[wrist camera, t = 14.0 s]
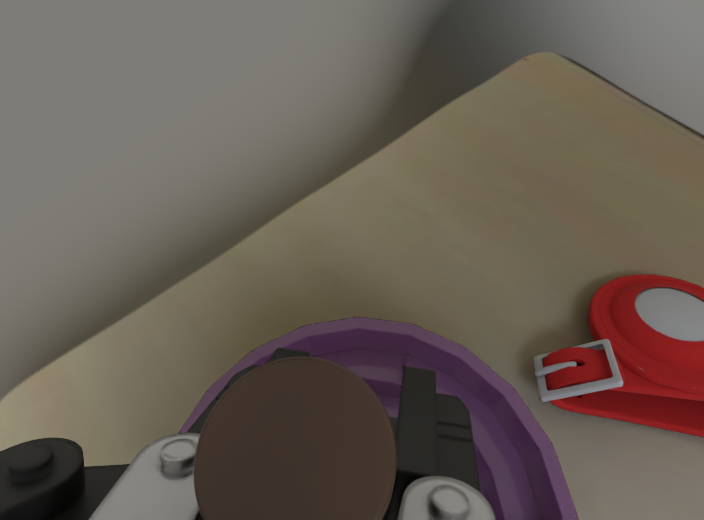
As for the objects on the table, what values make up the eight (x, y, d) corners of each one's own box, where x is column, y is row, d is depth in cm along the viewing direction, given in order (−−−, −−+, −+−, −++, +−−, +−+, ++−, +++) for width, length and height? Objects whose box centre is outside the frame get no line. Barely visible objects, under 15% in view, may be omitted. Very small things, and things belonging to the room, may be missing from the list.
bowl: (531, 382, 26) (567, 343, 21) (540, 799, 18) (603, 904, 13) (250, 342, 28) (219, 297, 23) (146, 698, 20) (65, 752, 15)
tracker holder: (625, 238, 29) (836, 320, 23) (605, 291, 32) (788, 375, 26) (518, 355, 23) (768, 505, 17) (505, 407, 26) (716, 551, 20)
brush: (454, 451, 15) (574, 304, 6) (445, 620, 13) (612, 829, 4) (274, 421, 16) (119, 247, 7) (237, 575, 14) (-78, 648, 4)
